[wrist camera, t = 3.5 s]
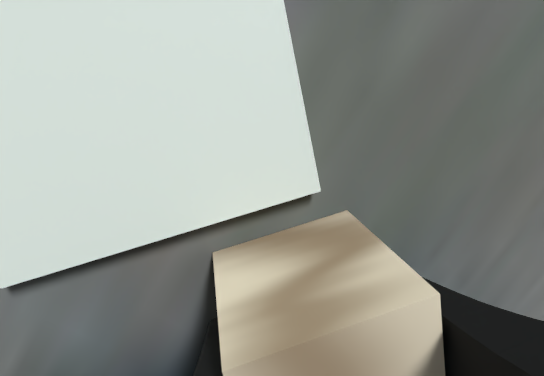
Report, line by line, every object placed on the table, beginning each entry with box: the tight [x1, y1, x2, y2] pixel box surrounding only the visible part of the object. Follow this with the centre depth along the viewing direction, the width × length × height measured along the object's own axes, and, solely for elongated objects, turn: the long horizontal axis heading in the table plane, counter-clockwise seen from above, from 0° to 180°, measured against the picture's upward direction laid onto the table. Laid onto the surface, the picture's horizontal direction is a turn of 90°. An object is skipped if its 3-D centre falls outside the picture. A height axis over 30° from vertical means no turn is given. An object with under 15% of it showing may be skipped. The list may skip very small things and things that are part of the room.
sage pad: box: [0, 0, 321, 289], centre depth 9 cm, size 10×8×1 cm
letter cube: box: [213, 210, 445, 376], centre depth 10 cm, size 5×5×5 cm
